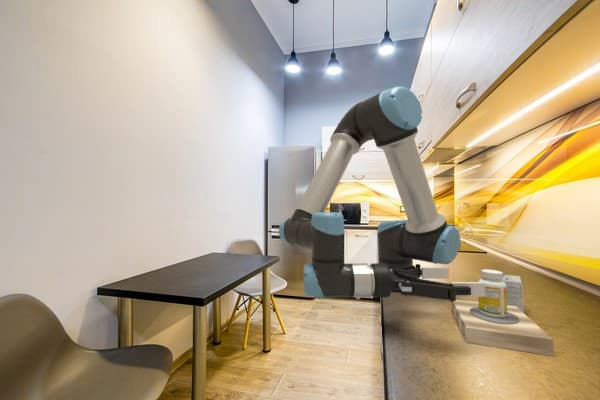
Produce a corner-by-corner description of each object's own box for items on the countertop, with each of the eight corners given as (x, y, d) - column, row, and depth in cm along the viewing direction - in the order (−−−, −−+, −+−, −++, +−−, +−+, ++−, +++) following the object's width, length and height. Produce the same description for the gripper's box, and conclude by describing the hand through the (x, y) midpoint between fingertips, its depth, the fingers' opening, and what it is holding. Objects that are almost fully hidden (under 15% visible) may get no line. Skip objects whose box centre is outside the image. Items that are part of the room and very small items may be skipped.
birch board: (452, 310, 72) (452, 297, 72) (516, 318, 66) (515, 304, 66) (466, 342, 55) (466, 325, 55) (553, 355, 50) (553, 337, 50)
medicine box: (524, 317, 67) (523, 282, 67) (501, 313, 70) (500, 279, 70) (522, 307, 73) (521, 276, 74) (501, 304, 76) (501, 273, 76)
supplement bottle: (491, 318, 58) (490, 274, 58) (473, 309, 63) (472, 268, 64) (514, 318, 58) (512, 273, 59) (494, 309, 64) (493, 268, 64)
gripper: (359, 281, 74) (437, 281, 73) (387, 319, 49) (505, 319, 48) (359, 254, 74) (436, 254, 73) (386, 277, 49) (504, 278, 48)
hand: (464, 280), depth 61 cm, fingers open, 13 cm apart
